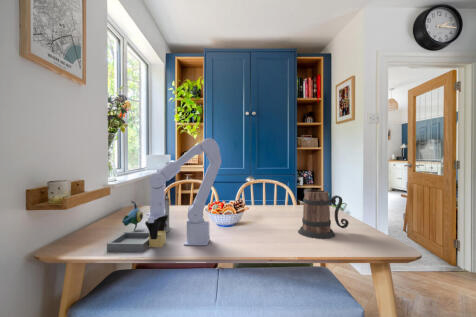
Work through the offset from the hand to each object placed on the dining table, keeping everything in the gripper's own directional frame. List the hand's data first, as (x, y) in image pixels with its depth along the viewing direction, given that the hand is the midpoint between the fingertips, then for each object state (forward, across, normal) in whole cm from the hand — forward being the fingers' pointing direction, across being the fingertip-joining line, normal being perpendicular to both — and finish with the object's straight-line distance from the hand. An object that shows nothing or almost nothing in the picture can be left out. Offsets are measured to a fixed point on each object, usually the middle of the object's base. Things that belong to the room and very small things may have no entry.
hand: (157, 235), depth 98 cm
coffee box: (+4, -20, -5) cm, 21 cm away
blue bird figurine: (+4, -17, -18) cm, 25 cm away
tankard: (+3, -17, +73) cm, 75 cm away
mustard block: (+4, 0, 0) cm, 4 cm away
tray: (+4, 0, -10) cm, 11 cm away
